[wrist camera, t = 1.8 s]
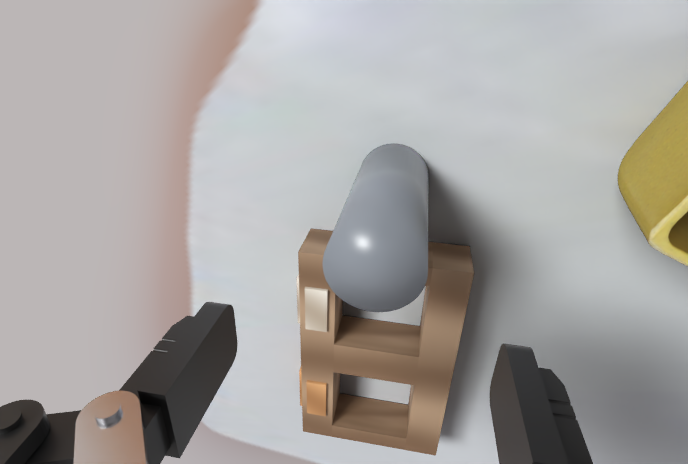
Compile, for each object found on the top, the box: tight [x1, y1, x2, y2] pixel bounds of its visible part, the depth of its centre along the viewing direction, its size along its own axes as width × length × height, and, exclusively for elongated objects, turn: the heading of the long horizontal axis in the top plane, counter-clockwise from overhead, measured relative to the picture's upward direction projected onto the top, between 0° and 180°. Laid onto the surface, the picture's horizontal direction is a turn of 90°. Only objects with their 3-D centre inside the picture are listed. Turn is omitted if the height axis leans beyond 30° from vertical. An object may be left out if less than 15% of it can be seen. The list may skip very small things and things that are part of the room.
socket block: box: [297, 229, 474, 455], centre depth 29 cm, size 16×10×3 cm, turn 178°
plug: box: [322, 144, 428, 312], centre depth 20 cm, size 4×4×10 cm
